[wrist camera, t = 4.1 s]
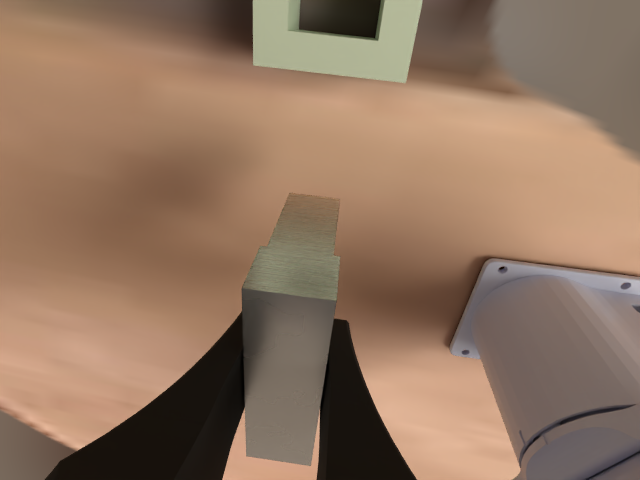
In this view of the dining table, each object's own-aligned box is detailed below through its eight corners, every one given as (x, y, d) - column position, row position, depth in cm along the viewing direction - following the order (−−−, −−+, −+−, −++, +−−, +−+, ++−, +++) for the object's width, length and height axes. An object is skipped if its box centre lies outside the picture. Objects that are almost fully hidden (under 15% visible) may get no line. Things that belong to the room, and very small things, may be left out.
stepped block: (345, 199, 14) (336, 301, 9) (324, 341, 18) (310, 466, 13) (284, 191, 14) (241, 288, 9) (278, 335, 18) (246, 456, 13)
